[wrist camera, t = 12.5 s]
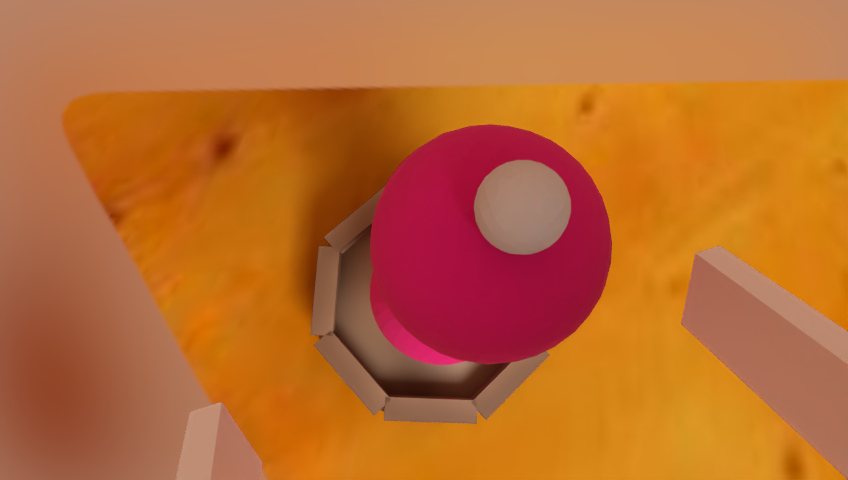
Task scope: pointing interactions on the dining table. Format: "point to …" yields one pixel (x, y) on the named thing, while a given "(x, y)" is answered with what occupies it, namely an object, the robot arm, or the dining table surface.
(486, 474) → the dining table surface
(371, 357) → the bowl
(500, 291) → the pepper mill
